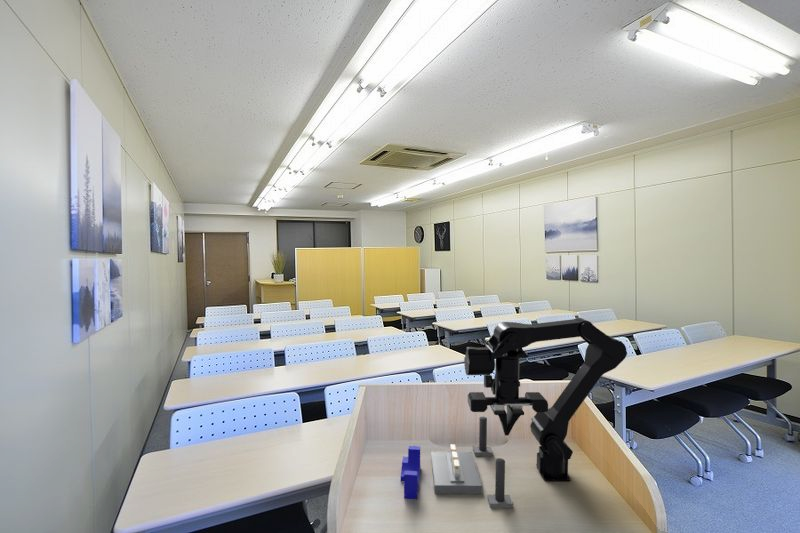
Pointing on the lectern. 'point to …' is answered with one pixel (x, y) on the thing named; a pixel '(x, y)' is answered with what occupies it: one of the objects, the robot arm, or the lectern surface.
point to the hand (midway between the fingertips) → (506, 434)
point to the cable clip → (411, 472)
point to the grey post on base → (482, 440)
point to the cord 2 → (499, 488)
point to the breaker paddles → (454, 460)
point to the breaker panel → (445, 474)
